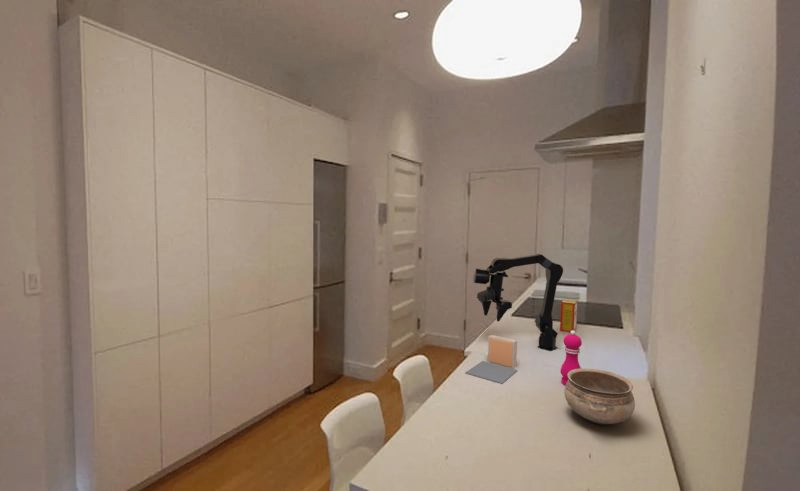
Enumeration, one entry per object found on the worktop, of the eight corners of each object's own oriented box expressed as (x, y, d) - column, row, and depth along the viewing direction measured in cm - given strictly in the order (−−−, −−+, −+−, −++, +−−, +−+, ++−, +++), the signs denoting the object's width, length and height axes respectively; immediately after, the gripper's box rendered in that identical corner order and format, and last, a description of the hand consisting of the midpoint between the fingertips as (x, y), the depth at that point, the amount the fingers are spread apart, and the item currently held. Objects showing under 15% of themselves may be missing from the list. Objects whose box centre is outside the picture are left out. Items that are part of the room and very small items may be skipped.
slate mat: (482, 361, 161) (482, 360, 161) (517, 370, 152) (517, 369, 152) (465, 373, 149) (465, 372, 149) (502, 384, 140) (502, 382, 140)
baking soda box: (573, 333, 201) (574, 303, 199) (559, 331, 204) (561, 301, 203) (576, 328, 209) (577, 299, 207) (563, 326, 212) (564, 298, 211)
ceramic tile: (490, 360, 163) (491, 334, 162) (516, 366, 156) (517, 340, 155) (487, 362, 161) (488, 336, 160) (513, 369, 154) (514, 342, 153)
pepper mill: (581, 381, 142) (584, 329, 141) (581, 390, 136) (584, 334, 134) (560, 378, 145) (562, 326, 144) (559, 386, 139) (561, 331, 137)
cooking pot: (637, 450, 101) (640, 405, 100) (560, 431, 110) (562, 390, 109) (630, 407, 124) (632, 370, 123) (566, 394, 132) (567, 360, 131)
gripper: (469, 280, 182) (465, 313, 184) (494, 289, 166) (490, 325, 167) (488, 281, 187) (484, 312, 188) (514, 290, 170) (510, 324, 172)
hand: (491, 318), depth 179 cm, fingers open, 9 cm apart
